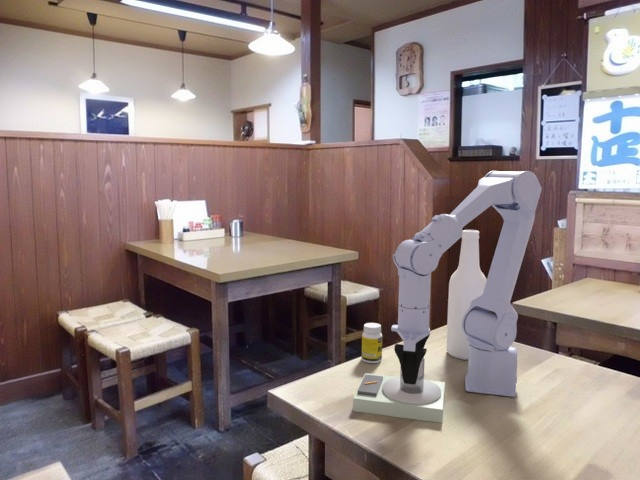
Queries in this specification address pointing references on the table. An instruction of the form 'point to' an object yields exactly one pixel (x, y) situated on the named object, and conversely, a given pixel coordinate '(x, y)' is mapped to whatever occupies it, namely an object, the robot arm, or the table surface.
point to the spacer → (419, 383)
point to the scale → (399, 399)
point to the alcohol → (463, 293)
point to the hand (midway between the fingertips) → (411, 375)
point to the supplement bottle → (372, 343)
